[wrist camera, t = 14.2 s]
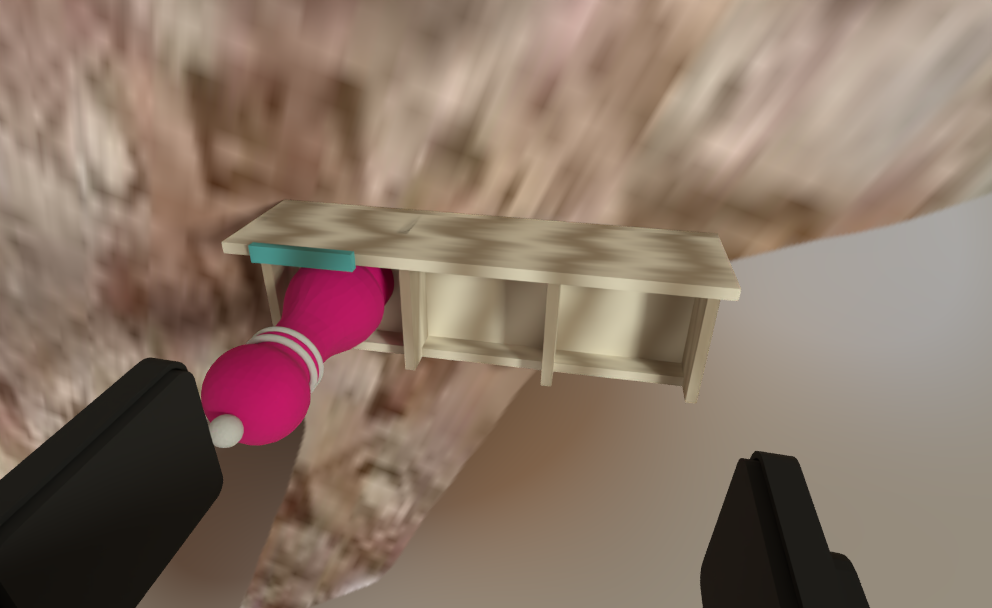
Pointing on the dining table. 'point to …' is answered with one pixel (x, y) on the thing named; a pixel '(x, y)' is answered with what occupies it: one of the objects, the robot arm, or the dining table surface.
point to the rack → (513, 287)
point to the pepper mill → (292, 354)
